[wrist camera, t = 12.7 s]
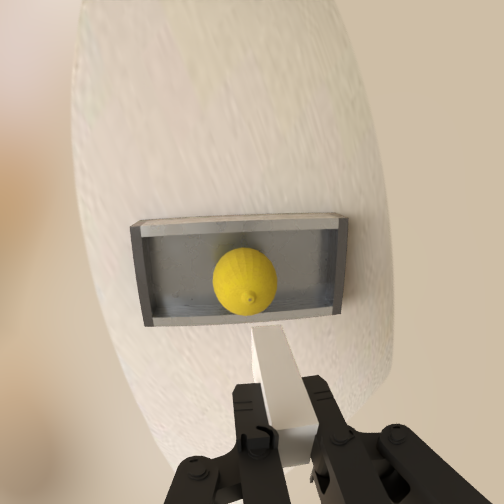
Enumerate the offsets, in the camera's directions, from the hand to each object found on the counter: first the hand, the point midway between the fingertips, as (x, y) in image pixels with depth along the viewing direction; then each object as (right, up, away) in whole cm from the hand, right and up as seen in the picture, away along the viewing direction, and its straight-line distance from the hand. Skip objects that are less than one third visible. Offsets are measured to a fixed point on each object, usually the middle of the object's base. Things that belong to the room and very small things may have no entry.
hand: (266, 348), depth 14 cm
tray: (-2, +4, +16) cm, 16 cm away
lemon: (-2, +4, +15) cm, 15 cm away
